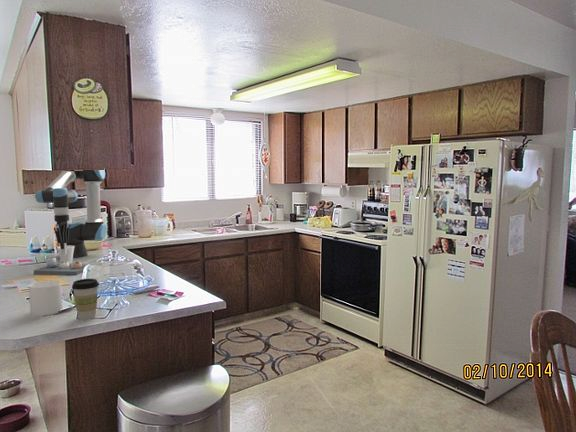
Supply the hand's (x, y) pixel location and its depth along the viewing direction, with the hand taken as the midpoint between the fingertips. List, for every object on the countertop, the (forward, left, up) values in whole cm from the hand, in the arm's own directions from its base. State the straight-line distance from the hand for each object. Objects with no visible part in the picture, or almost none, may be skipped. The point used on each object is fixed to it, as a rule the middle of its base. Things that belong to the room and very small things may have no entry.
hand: (63, 253), depth 246 cm
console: (0, 0, -10) cm, 10 cm away
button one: (0, -8, -7) cm, 11 cm away
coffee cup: (+73, +58, -10) cm, 94 cm away
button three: (0, +8, -10) cm, 13 cm away
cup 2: (-17, -10, -10) cm, 22 cm away
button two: (0, 0, -10) cm, 10 cm away
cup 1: (+68, +37, -10) cm, 79 cm away
